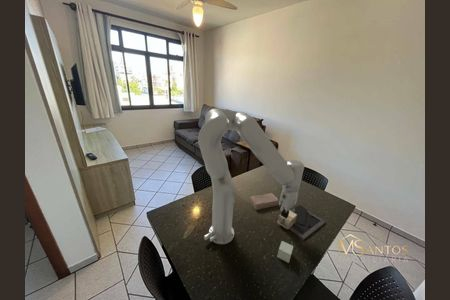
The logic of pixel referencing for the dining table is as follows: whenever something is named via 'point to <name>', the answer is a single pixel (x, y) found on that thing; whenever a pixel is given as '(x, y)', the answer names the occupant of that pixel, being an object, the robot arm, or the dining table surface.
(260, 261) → the dining table surface
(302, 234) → the picture frame
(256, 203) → the brick
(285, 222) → the maple block
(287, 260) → the sage block
